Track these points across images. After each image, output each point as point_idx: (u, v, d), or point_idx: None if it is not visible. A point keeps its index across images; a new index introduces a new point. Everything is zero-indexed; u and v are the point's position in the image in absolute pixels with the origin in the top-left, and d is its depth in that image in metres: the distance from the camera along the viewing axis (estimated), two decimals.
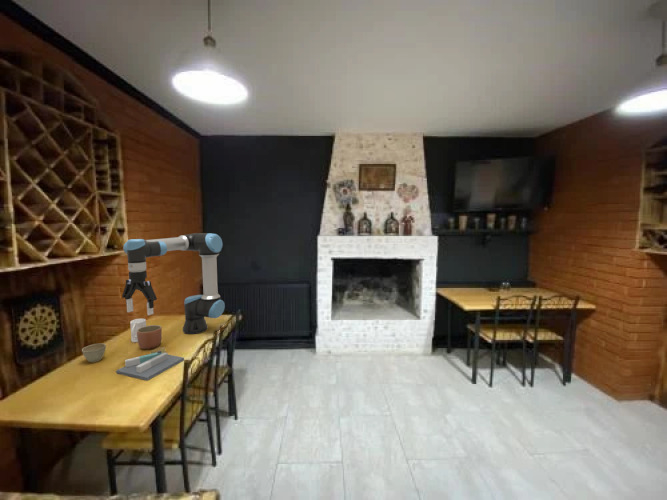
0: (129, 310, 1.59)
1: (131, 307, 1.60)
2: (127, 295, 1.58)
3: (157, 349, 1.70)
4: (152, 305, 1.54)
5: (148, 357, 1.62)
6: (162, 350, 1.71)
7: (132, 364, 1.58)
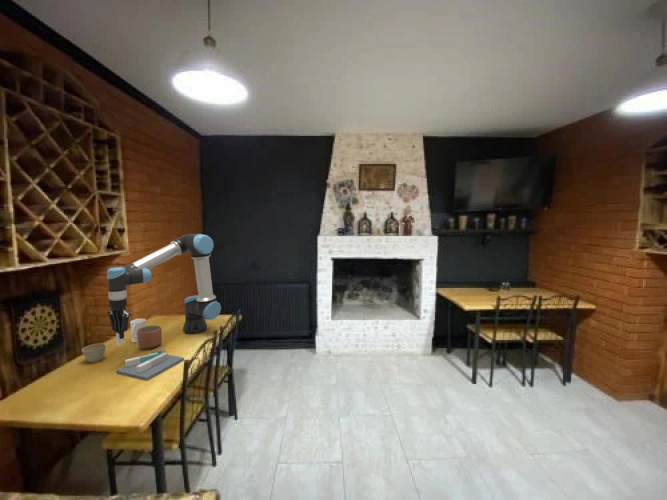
0: None
1: None
2: (115, 327, 1.59)
3: (157, 349, 1.70)
4: (122, 336, 1.59)
5: (148, 357, 1.62)
6: (162, 350, 1.71)
7: (132, 364, 1.58)
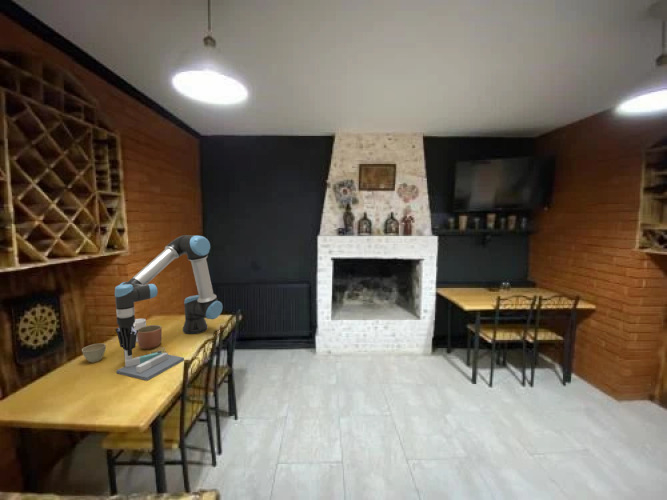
0: None
1: None
2: (123, 344, 1.58)
3: (157, 349, 1.70)
4: (130, 353, 1.59)
5: (148, 357, 1.62)
6: (162, 350, 1.71)
7: (132, 364, 1.58)
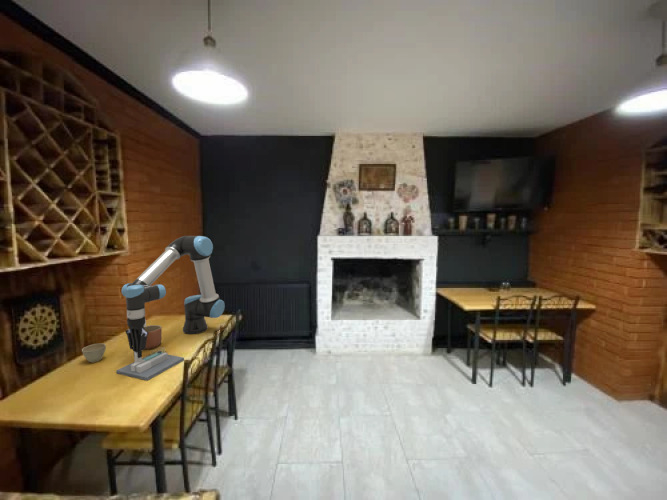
0: None
1: None
2: (133, 346, 1.55)
3: (157, 349, 1.70)
4: (140, 355, 1.56)
5: None
6: (162, 350, 1.71)
7: None
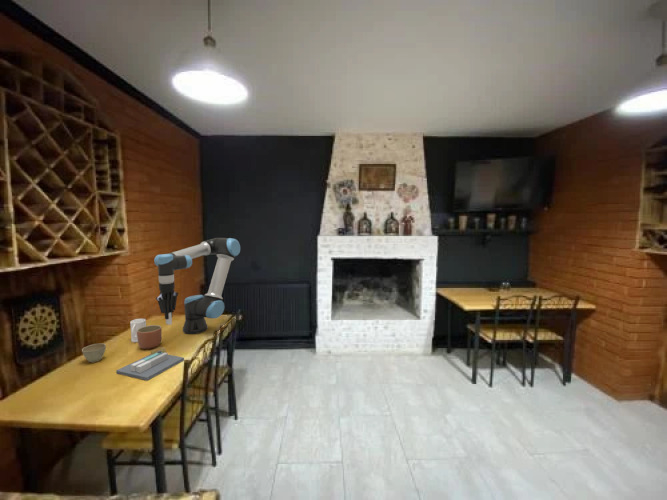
0: None
1: None
2: None
3: (157, 349, 1.70)
4: (165, 317, 1.74)
5: None
6: (162, 350, 1.71)
7: None
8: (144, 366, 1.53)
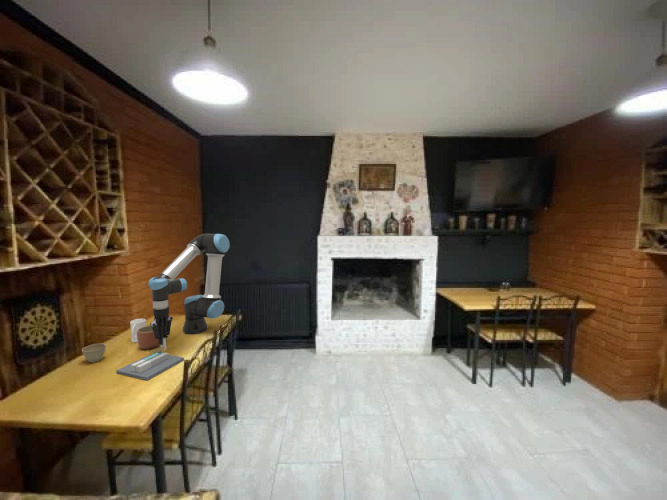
0: None
1: None
2: None
3: (156, 349, 1.70)
4: (160, 342, 1.71)
5: None
6: (161, 350, 1.70)
7: None
8: (144, 366, 1.53)
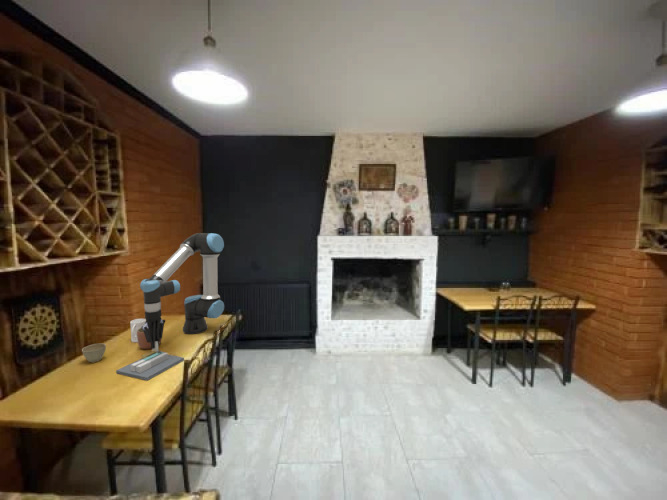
0: None
1: None
2: None
3: (148, 353, 1.65)
4: (152, 346, 1.67)
5: None
6: None
7: None
8: (144, 366, 1.53)
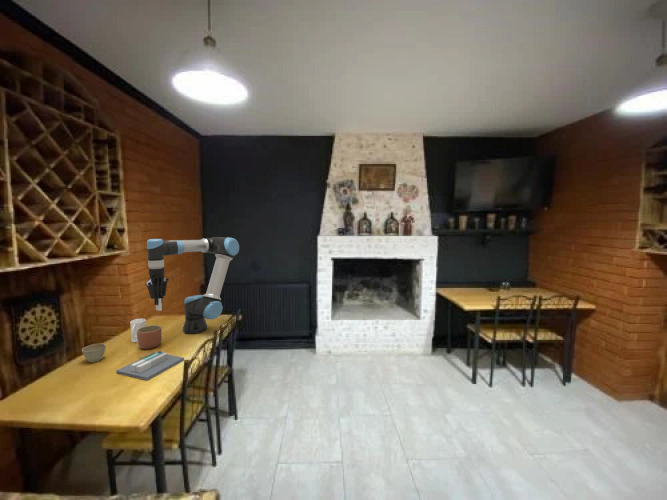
0: None
1: None
2: None
3: (146, 354, 1.64)
4: (155, 302, 1.72)
5: None
6: None
7: None
8: (144, 366, 1.53)
